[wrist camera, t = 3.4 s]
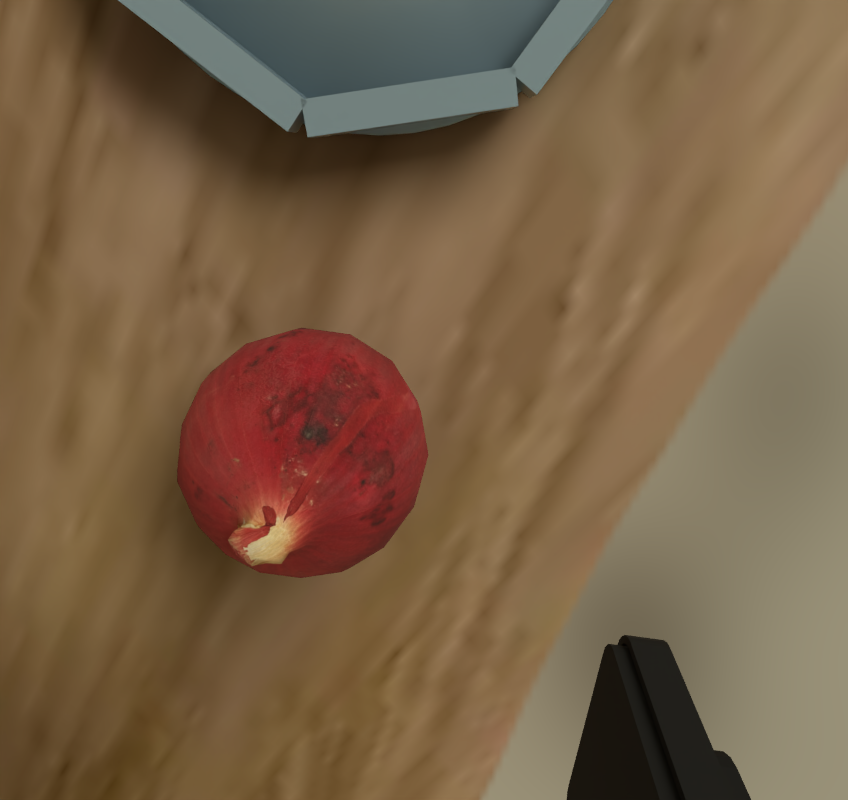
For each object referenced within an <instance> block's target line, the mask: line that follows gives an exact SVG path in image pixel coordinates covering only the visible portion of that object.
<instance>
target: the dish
mask: <svg viewBox="0 0 848 800" xmlns="http://www.w3.org/2000/svg"><path fill="white" fill-rule="evenodd" d="M118 1H119V2H121V3H122V4H123V5H125V6H126V7H127V8H129V9H130V10H131V11H132V12H134V13H135V14H136V15H138V16H139V17H140V18H141V19H143V20H144V21H145V22H147V23H148V24H149V25H150V26H152V27H153V28H154V29H156V30H157V31H158V32H159V33H161V34H162V35H163V36H165V37H166V38H167V39H169V40H170V41H171V42H172V43H174V44H175V45H176V46H177V47H178V48H179V49H180V50H181V51H182V52H183V53H184V54H185V55H187V56H188V57H189V58H190V59H191V60H192V61H193V62H195V63H196V64H197V65H198V66H199V67H200V68H201V69H203V70H204V71H205V72H206V73H207V74H208V75H210V76H211V77H213V78H214V79H216V80H217V81H219V82H220V83H221V84H223V85H224V86H226V87H227V88H229V89H230V90H232V91H233V92H235V93H236V94H238V95H239V96H241V97H243V98H245V99H246V100H247V101H249V102H250V103H251V104H252V105H254V106H255V107H256V108H258V109H259V110H260V111H261V112H263V113H264V114H265V115H267V116H268V117H269V118H270V119H272V120H273V121H274V122H276V123H277V124H278V125H279V126H281V127H282V128H283V129H285V130H286V131H287V132H294V133H297V132H298V131H299V129H300V128H301V126H302V125H303V124H305V126H306V131H307V137H310V138H319V137H326V136H333V135H339V134H346V133H348V134H363V135H379V136H385V135H398V134H411V133H419V132H423V131H428V130H432V129H437V128H441V127H446V126H450V125H453V124H455V123H458V122H461V121H463V120H466V119H469V118H471V117H474V116H477V115H480V114H482V113H488V112H495V111H502V110H509V109H514V108H516V107H518V96H517V94H518V93H520V92H521V91H522V92H523V93H524V94H526V95H527V96H528V97H529V98H531V97H533V96H535V95H537V94H538V92H539V91H540V90H541V88H542V87H543V86H544V84H545V83H546V82H547V80H548V79H549V78H550V76H551V75H552V74H553V72H554V71H555V70H556V68H557V67H558V66H559V64H560V63H561V62H562V60H563V59H564V58H565V56H566V55H567V54H568V53H569V52H570V51H572V50H573V49H574V48H575V47H576V46H577V45H578V44H579V43H580V41H581V40H582V39H583V38H584V37H585V35H586V34H587V33H588V32H589V31H590V30H591V28H592V27H593V26H594V25H595V24H596V23H597V21H598V20H599V19H600V18H601V17H602V15H603V14H604V13H605V11H606V10H607V8H608V7H609V5H610V4H611V2H612V1H613V0H118Z"/></svg>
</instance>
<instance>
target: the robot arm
mask: <svg viewBox="0 0 848 800" xmlns="http://www.w3.org/2000/svg"><path fill="white" fill-rule="evenodd" d="M567 800H751V798H750V796H749V794H748V792H747V790H746V787H745V785H744V783H743V781H742V778H741V776H740V774H739V772H738V770H737V768H736V766H735V764H734V763H733V761H732V759H731V757H729V756H728V755H727V754H726V753H725V752H723V751H715V750H713V748H712V745H711V743H710V741H709V738H708V736H707V734H706V731H705V729H704V727H703V724H702V722H701V720H700V718H699V715H698V712H697V710H696V708H695V706H694V704H693V701H692V698H691V696H690V694H689V691H688V689H687V687H686V684H685V682H684V680H683V677H682V675H681V673H680V670H679V668H678V665H677V663H676V661H675V658H674V656H673V654H672V652H671V649H670V647H669V645H668V644H667V642H665V641H664V640H658V639H650V638H642V637H635V636H628V635H624V636H622V637H621V639H620V640H619V643H618V645H612V644H608V645H607V646H606V647H605V650H604V653H603V657H602V660H601V664H600V668H599V672H598V675H597V679H596V683H595V687H594V691H593V696H592V698H591V702H590V706H589V710H588V714H587V718H586V721H585V725H584V729H583V733H582V737H581V741H580V744H579V748H578V752H577V756H576V760H575V764H574V767H573V772H572V775H571V779H570V783H569V787H568V792H567Z"/></svg>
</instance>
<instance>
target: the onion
mask: <svg viewBox="0 0 848 800" xmlns="http://www.w3.org/2000/svg"><path fill="white" fill-rule="evenodd" d="M427 458H428V450H427V445H426V439H425V433H424V427H423V422H422V416H421V411H420V408H419V405H418V402H417V400H416V398H415V397H414V395H413V393H412V392H411V390H410V389H409V387H408V385H407V384H406V382H405V381H404V379H403V377H402V376H401V374H400V373H399V371H398V370H397V368H396V366H395V365H394V363H393V362H392V361H391V360H390V359H388V358H387V357H385V356H383V355H382V354H380V353H379V352H377V351H376V350H374V349H372V348H371V347H369V346H368V345H366V344H364V343H363V342H361V341H360V340H358V339H357V338H355V337H353V336H352V335H350V334H343V333H336V332H328V331H321V330H313V329H306V328H299V329H295V330H292V331H288V332H285V333H281V334H278V335H275V336H271V337H268V338H264V339H261V340H258V341H254V342H251V343H247V344H245V345H244V346H243V347H242V348H240V349H239V350H238V351H237V352H235V353H234V354H233V355H232V356H230V357H229V358H228V359H227V360H226V361H224V362H223V363H222V364H221V365H219V366H218V367H217V368H216V369H214V370H213V371H212V372H211V373H210V374H209V375H208V376H207V378H206V379H205V380H204V381H203V382H202V384H201V386H200V388H199V390H198V392H197V394H196V396H195V398H194V400H193V403H192V405H191V407H190V409H189V411H188V413H187V415H186V417H185V419H184V421H183V424H182V429H181V437H180V449H179V459H178V468H177V482H178V484H179V486H180V488H181V490H182V493H183V495H184V497H185V499H186V502H187V504H188V506H189V508H190V511H191V513H192V515H193V517H194V520H195V522H196V523H197V525H198V526H199V528H200V529H201V530H202V531H203V532H204V533H205V534H206V535H207V536H208V537H209V538H210V539H211V540H212V541H213V542H214V543H215V544H216V545H217V546H218V547H219V548H220V549H221V550H222V551H223V552H224V553H225V554H226V555H228V556H230V557H232V558H233V559H235V560H237V561H239V562H241V563H243V564H245V565H247V566H249V567H250V568H252V569H254V570H256V571H258V572H260V573H268V574H275V575H283V576H290V577H298V578H303V577H310V576H317V575H323V574H330V573H337V572H342V571H344V570H346V569H349V568H350V567H352V566H354V565H355V564H357V563H359V562H360V561H362V560H364V559H365V558H367V557H369V556H370V555H372V554H374V553H375V552H377V551H379V550H380V549H382V548H384V546H385V545H386V544H387V543H388V541H389V540H390V539H391V537H392V536H393V535H394V533H395V532H396V530H397V529H398V528H399V526H400V525H401V524H402V522H403V521H404V520H405V518H406V517H407V515H408V514H409V513H410V511H411V510H412V509H413V507H414V504H415V501H416V497H417V494H418V490H419V487H420V483H421V480H422V476H423V472H424V469H425V465H426V461H427Z"/></svg>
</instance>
